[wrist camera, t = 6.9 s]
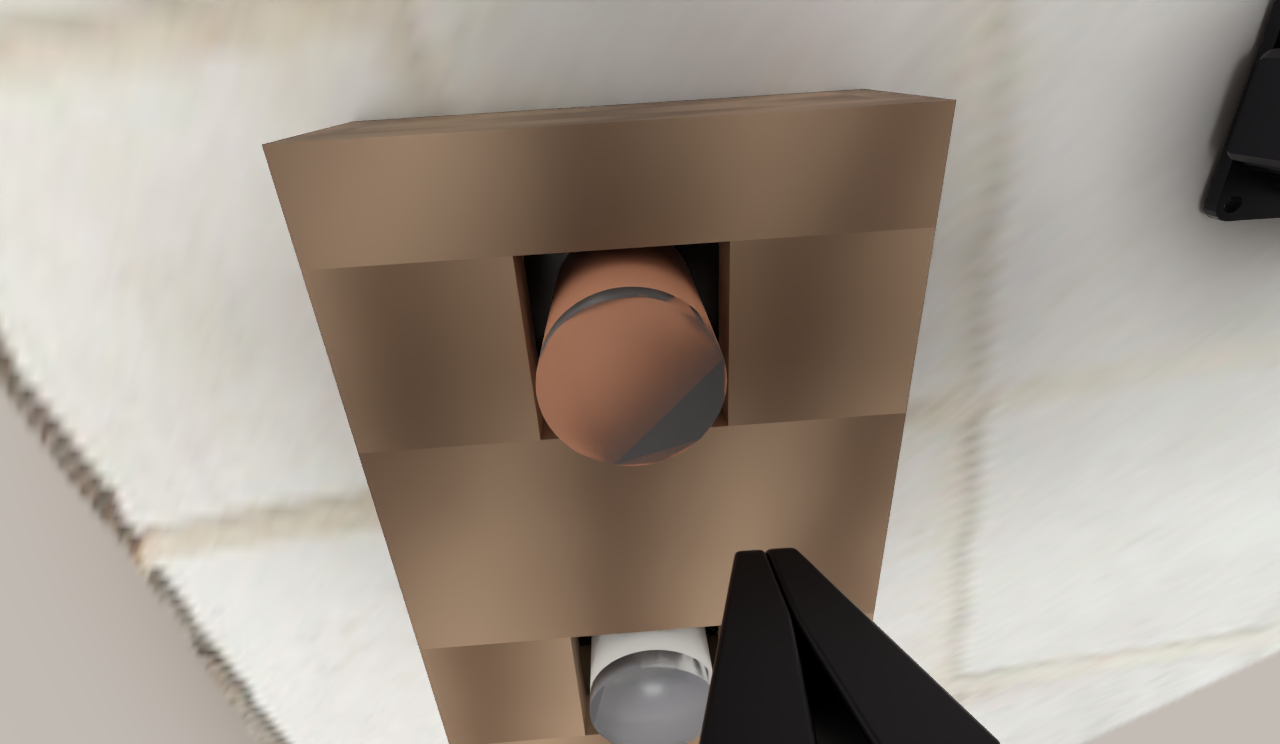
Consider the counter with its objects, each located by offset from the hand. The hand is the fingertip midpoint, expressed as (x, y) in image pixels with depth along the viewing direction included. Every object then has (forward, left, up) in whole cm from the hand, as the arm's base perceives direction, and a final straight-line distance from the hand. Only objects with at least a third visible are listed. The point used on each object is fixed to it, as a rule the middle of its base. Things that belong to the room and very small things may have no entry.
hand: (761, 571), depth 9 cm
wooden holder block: (+2, +6, -12) cm, 13 cm away
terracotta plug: (+2, 0, -11) cm, 11 cm away
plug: (+2, +12, -12) cm, 16 cm away
